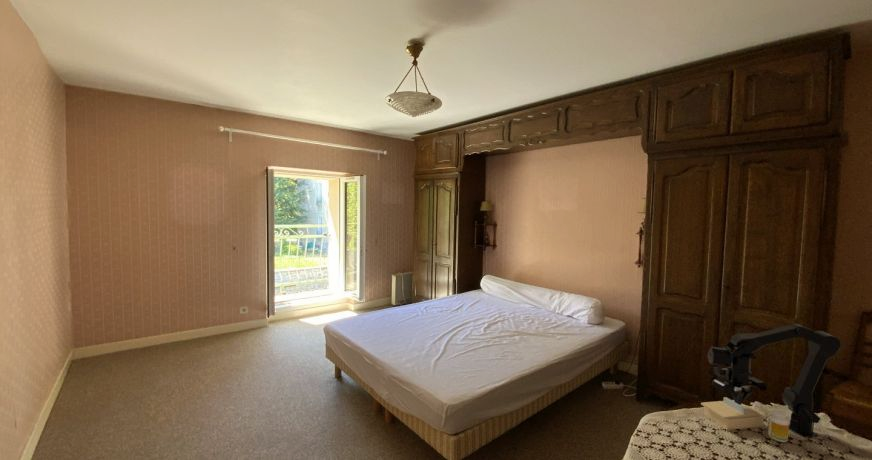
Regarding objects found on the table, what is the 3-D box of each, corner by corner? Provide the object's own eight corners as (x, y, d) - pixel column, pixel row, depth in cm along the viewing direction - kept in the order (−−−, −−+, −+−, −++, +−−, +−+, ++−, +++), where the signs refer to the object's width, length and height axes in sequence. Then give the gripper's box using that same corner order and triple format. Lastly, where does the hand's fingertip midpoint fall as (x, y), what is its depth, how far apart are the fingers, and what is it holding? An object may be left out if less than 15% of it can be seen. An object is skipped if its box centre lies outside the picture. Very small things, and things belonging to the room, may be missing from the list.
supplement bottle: (791, 443, 130) (793, 417, 129) (774, 441, 131) (776, 415, 130) (780, 434, 135) (782, 409, 134) (764, 432, 136) (766, 407, 135)
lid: (735, 401, 148) (736, 395, 148) (760, 415, 138) (760, 408, 138) (701, 404, 146) (701, 397, 146) (723, 418, 136) (724, 411, 136)
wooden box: (738, 412, 149) (739, 402, 149) (763, 427, 139) (764, 416, 139) (704, 415, 147) (704, 404, 146) (726, 430, 137) (727, 419, 137)
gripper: (741, 357, 151) (738, 393, 152) (701, 359, 148) (699, 395, 150) (769, 369, 140) (766, 408, 141) (726, 372, 137) (724, 411, 139)
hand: (737, 405), depth 143 cm, fingers closed
